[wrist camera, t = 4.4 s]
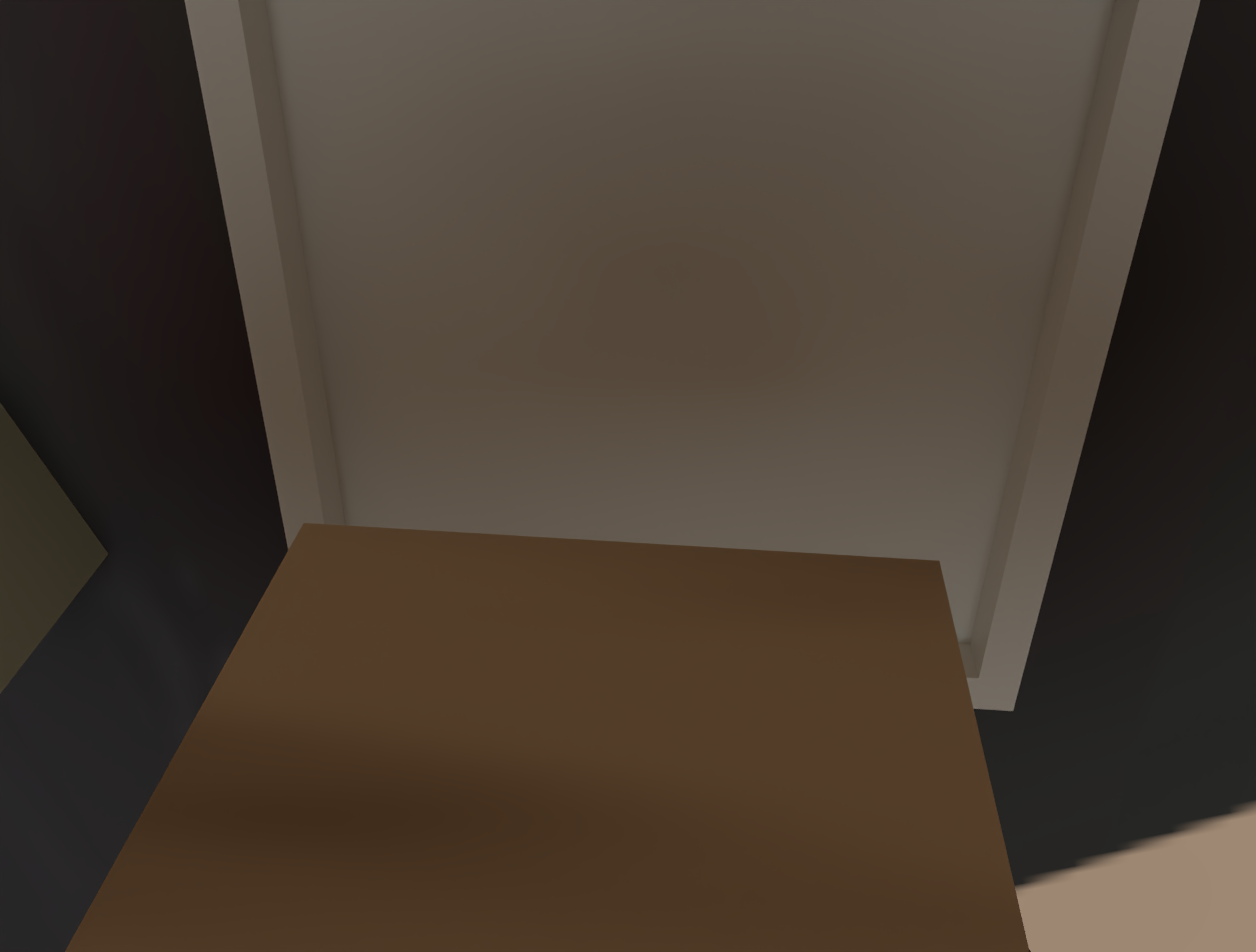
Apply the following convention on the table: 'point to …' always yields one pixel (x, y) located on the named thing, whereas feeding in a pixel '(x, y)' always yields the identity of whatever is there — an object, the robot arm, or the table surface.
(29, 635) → the sage block
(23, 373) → the table surface
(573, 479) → the tray
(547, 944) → the oak block
